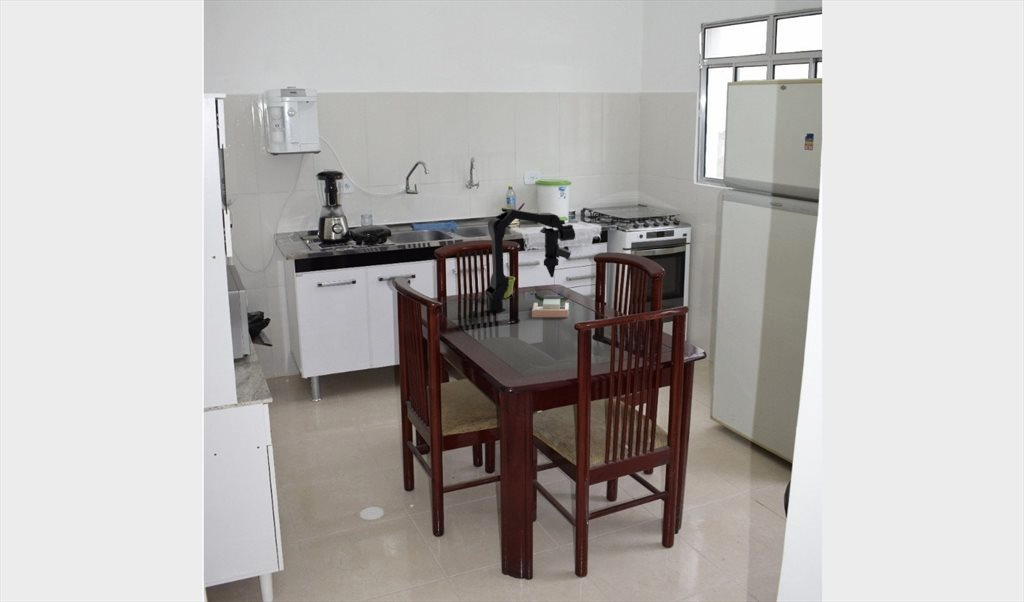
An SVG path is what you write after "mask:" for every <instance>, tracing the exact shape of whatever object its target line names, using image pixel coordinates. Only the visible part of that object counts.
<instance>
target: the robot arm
mask: <svg viewBox="0 0 1024 602" xmlns="http://www.w3.org/2000/svg"><path fill="white" fill-rule="evenodd" d="M515 220H521V221H527V222H532V223H539V224H541V225H544V226H543V227H542V228H541V229H540V230H539V233H541V234H544V259H543V266H545V267H546V270H547V272H548V274H549V276H550V278H554V275H555V269H556V266H559V262H560V260H559V258H560V257H561V258H565V259H566V260H569V259H570V257H571V255H572V250H570V248H569V246H567V245H564V247H560V244H559V241H560V242H565V241H575V239H576V233H575V229H574V226H573V224H566V225H563V224H562V222H561V221H560V216H558V215H557V214H555V213H551V212H540V213H538V212H537V213H536V212H531V211H524V210H519V209H515V208H508V209H506V211H504V212H502V213H501V214H500V213H499V215H497V216H496V217H492V218H490V219H489V220H488V221H487V229H488V234H489V236H490V239H491V251H492V252H491V253H492V257H491V258H492V274H491V277H490V280H489V286H487V288H486V289H485V291H484V293H485V295H486V296H487V308H485V309H484V310H485V311H486V312H489V313H491V314H496V313H500V312H501V313H502V312H504V311H506V309H505V308H504V306H503V305H504V304H503V299H505V298H504V294H505V292H506V291H507V290H508V287H509V284H508V281H509V277H507V276H508V275H506V274H505V273H504V269H505V268H504V246H503V245H504V244H503V242H504V237H505V235H506V229H507V228H508V227H509V226H510V225H511V224H512V223H513V222H514V221H515ZM546 226H547V227H548V228H547V227H546ZM554 228H555V229H554Z"/></svg>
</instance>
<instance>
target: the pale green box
mask: <svg viewBox="0 0 1024 602" xmlns="http://www.w3.org/2000/svg"><path fill="white" fill-rule="evenodd" d="M542 307H543V309H560V307H561V295H557V294H556V295H543V301H542Z"/></svg>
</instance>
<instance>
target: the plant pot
mask: <svg viewBox="0 0 1024 602" xmlns="http://www.w3.org/2000/svg"><path fill="white" fill-rule="evenodd" d="M506 276H507V277H509V281H508V284H509V287H508V290H507V291H506V292H505V294H504V298H503V299H508V298H507V297H509V296H510V295H511V294H512V295H513V293H514V292H513V289H514V283H515V280H516V277H514V276H510V275H506ZM509 298H510V297H509Z"/></svg>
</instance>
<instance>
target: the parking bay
mask: <svg viewBox="0 0 1024 602" xmlns="http://www.w3.org/2000/svg"><path fill="white" fill-rule="evenodd" d="M538 303H539V302H534V303H533V306H532V309H531V317H532V318H569V311H568V310H569V309H570V305H569V304H570V303H569V302H565V303H564V307H565V309H543V306H538V305H539V304H538Z"/></svg>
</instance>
